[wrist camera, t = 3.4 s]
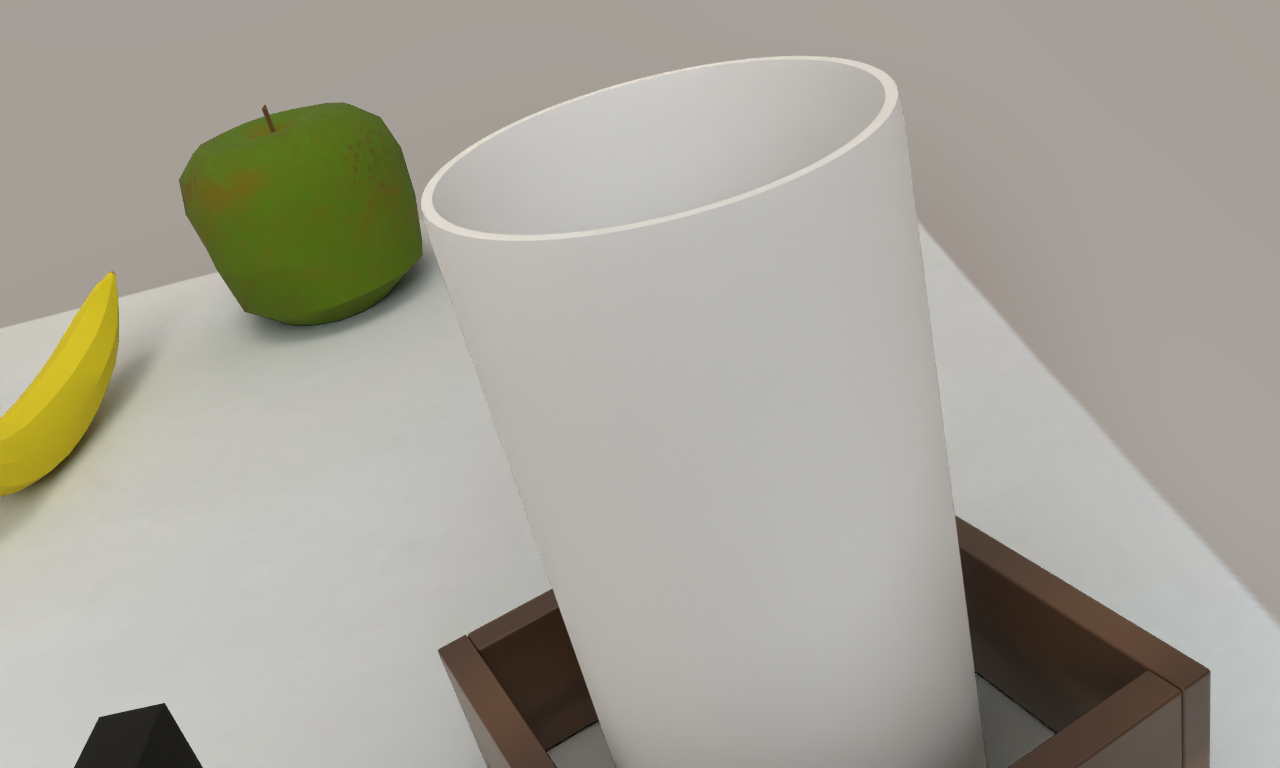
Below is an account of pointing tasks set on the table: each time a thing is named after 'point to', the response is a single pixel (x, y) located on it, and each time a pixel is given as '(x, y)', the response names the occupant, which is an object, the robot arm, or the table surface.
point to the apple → (305, 212)
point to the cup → (725, 411)
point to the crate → (1002, 653)
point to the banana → (62, 393)
